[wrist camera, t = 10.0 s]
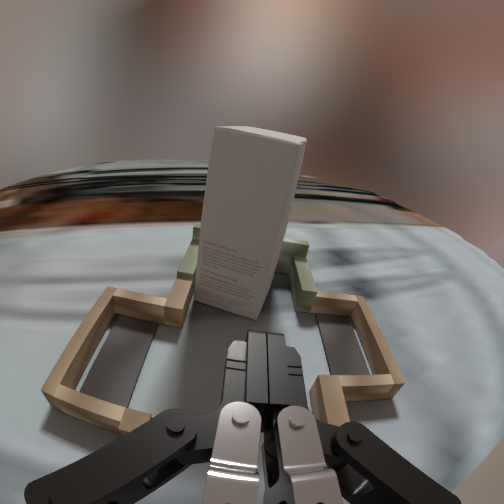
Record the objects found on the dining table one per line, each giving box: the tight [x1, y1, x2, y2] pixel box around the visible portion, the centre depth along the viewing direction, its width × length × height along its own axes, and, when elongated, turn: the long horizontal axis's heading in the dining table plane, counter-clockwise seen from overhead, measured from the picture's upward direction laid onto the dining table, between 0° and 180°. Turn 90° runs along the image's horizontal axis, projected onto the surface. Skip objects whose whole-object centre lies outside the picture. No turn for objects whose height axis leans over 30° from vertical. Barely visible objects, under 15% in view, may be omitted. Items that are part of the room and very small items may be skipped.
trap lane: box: [41, 224, 404, 436], centre depth 22 cm, size 24×24×4 cm
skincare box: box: [194, 126, 307, 320], centre depth 25 cm, size 8×7×16 cm
